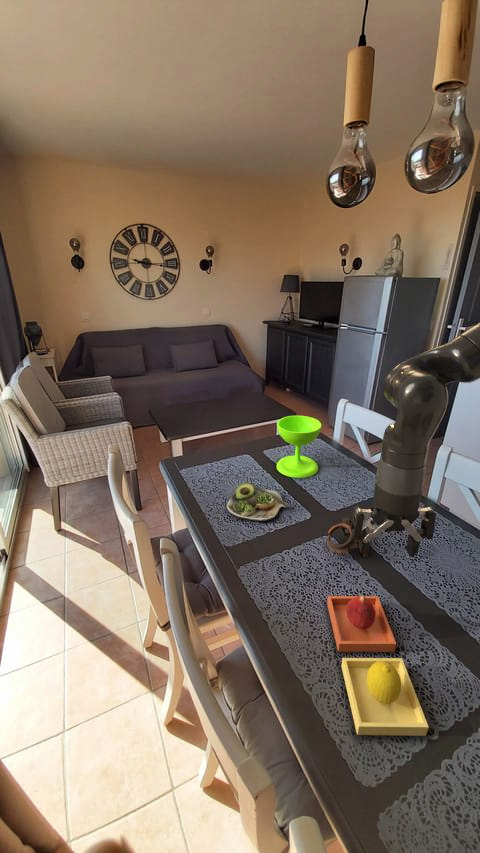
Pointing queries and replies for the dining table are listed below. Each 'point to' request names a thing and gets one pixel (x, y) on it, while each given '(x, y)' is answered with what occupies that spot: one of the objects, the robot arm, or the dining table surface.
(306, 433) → the wineglass
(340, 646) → the terracotta tray
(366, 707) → the cream tray
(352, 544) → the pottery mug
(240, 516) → the salad plate
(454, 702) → the dining table surface
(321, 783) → the dining table surface
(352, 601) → the onion
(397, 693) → the lemon
